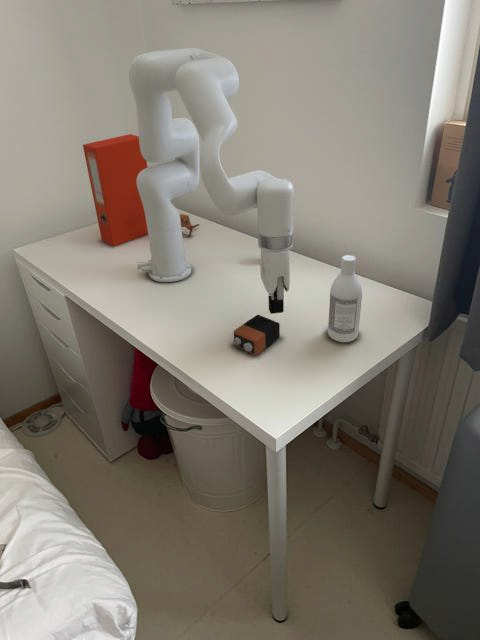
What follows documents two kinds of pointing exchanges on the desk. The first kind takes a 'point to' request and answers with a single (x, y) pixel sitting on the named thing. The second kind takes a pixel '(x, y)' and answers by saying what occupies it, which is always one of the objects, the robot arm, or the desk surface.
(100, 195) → the file binder
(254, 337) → the battery
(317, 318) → the desk surface
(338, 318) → the bath foam
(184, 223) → the cat figurine
